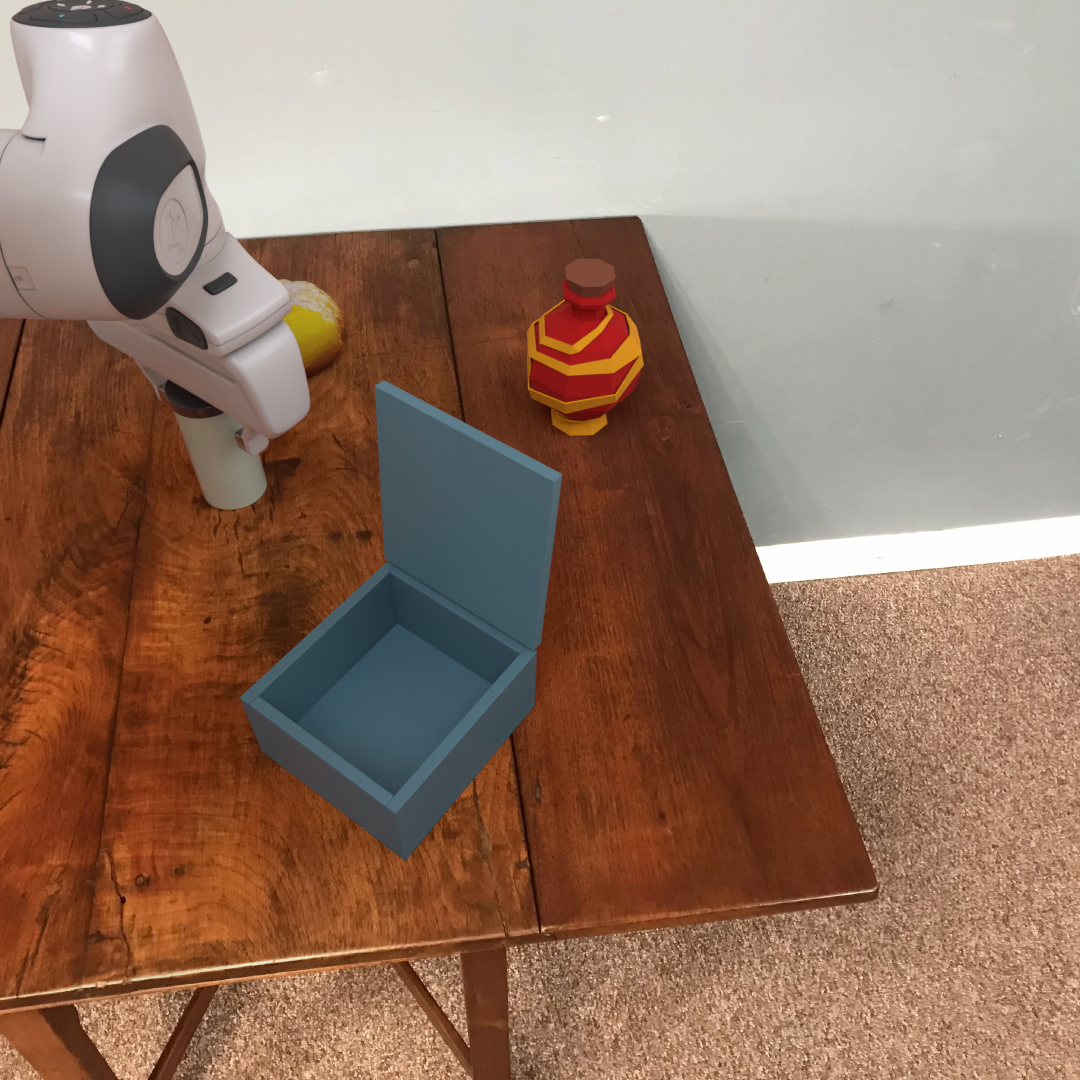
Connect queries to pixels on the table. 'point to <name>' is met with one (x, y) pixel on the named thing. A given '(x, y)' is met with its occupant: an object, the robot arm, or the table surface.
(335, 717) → the chest
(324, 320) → the fruit
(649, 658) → the table surface
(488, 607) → the lid
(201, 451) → the jar
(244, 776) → the table surface
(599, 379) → the potion bottle
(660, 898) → the table surface
